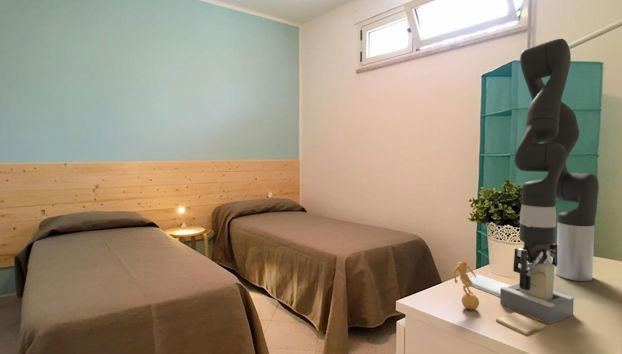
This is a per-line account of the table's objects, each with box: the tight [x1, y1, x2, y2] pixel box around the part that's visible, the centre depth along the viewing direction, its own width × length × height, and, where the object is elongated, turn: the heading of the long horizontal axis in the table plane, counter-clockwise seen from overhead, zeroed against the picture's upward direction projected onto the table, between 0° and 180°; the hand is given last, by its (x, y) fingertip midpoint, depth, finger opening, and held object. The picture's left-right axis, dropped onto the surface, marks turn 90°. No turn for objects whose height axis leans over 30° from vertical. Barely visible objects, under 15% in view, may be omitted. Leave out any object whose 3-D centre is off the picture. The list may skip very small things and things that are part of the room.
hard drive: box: [461, 274, 511, 298], centre depth 100 cm, size 2×8×12 cm
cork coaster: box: [495, 311, 546, 336], centre depth 78 cm, size 7×7×1 cm
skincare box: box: [518, 261, 556, 302], centre depth 85 cm, size 6×4×12 cm
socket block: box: [499, 283, 575, 325], centre depth 85 cm, size 10×12×4 cm
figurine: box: [452, 260, 480, 311], centre depth 86 cm, size 8×6×12 cm
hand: (535, 286), depth 85 cm, fingers open, 8 cm apart
